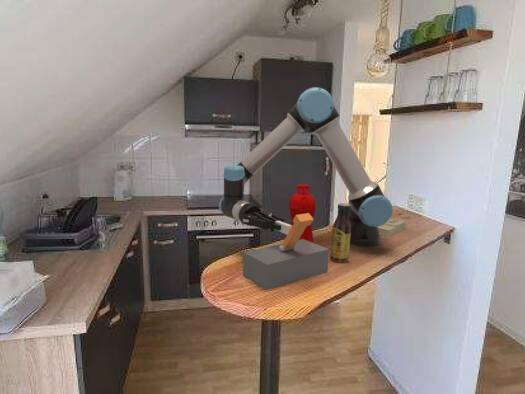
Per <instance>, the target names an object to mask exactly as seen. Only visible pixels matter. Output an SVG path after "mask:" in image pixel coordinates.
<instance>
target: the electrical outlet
mask: <svg viewBox="0 0 525 394" xmlns="http://www.w3.org/2000/svg"><path fill="white" fill-rule="evenodd" d="M406 222H407V221H405V220H401V219H397V218H390V219H389V220H388V222H386V223H385V224H383V225H381V226H378V230H379V235H380V234H381V235H380V236H384V235H385V237H390V236H392V235H395V234H398V233H399V232H401V231H403V230H405V229H406Z"/></svg>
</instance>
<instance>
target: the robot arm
mask: <svg viewBox="0 0 525 394" xmlns="http://www.w3.org/2000/svg"><path fill="white" fill-rule="evenodd" d="M340 117H341V115H340V114H339V112H338V110H337V109H336V107H335V104H334V100H333V96H332V95H331V94H330V92H329V91H327V89H324V88H322V87H319V86H318V87H314V86H313V87H310V88H307V89H305V91H303V92H302V93H301V94H300V95H299V97H298V100H297V101H296V103H295V104H294V106H293V107H292V108H291V110H289V111H288V112H287V115H286V118H285V119H284V120H282V121H281V122H280V124H278V125H277V126H276V127H275V128H273V130H272V131H270V133H269V134H268V135H267V136H266V137H265V138H264V139H263V140H262V141H261V142H260V143H259V144H257V145H256V146H255V147H254V148H253V150H251V151H250V152H249V153H248V154H247V155H246V156H245V157H244V158H242V160H241V161H240V162H239V163H238V164H236V165H234V164H232V165H226V166H224V169H223V175H222V176H223V197H222V198H220V200H219V203H218V209H219V211H220V213H221V214H223V215H224V216H226V217H228V218H231V219H233V220H235V221H238V222H239V223H241V224H242V225H245V226H249V227H255V228H259V229H263V230H267V231H268V230H270V231H269V232H274V231H277V232H280V233H282V234H284V235H286V236H287V235H288V233H289V231H290V229H291V228H292V225H291V224H289V223H286V222H285V219H284V218H283V217H281V216H280V215H278V214H276V212H271V213H270V214H269V213H267V212H265V211H262V209H261V208H260V206H258V205H257V204H254V203H251V202H248V201H245V200H244V198H245V197H244V196H245V184H246V183H247V182H248V181H249V180H250V179H251V178H252V177H254V176H255V174H256V173H258V172H259V171H260V169H262V168H263V167H264V166H265V165H266V164H267V163H268V162H270V161H271V159H273V158H274V157H275V156H276V155H277V154H278V153H279V152H280V151H281V150H282V149H283V148H284V147H286V146H287V145H288V144H289V143H290V142H291V141H292V140H293V139H294V138H295V137H296V136H298V134H300V133H301V132H305V131H306V130H308V132H309V134H311V135H315V136H316V137H317V138H318V140H319V142H320V143H321V145H322V147H323V149H324V150H325V152H326V153H325V154H327V157H329V159H330V161H331V162H332V165H333V166H334V168H335V170H336V172H337V174H338V175H339V177H340V179H341V180H342V182H343V184H344V185H345V187H346V189H347V191H348V197H347V199H348V204H350V210H349V220H350V222H351V237H350V244H352V245H357V246H376V245H379V244H380V242H381V235H380V234H379V230H378V226H381V225H383V224H385V223H386V222H388V220H389V219H392V218H391V217H392V216H393V215H392V214H393V213H394V212H393V209H394V207H393V204H392V203H391V200H390V199H389V198H388V197H386V196H385V194H384V192H383V191H382V189H381V187H380V185H379V184H378V182H376V181H372V179H371V178H370V177H369V175H368V172H366V169H365V168H364V165H363V164H362V162H361V161H360V159H359V157H358V155H357V153H356V152H355V150H354V148H353V146H352V145H351V143H350V141H349V140H348V137H347V136H346V134H345V132H344V130H343V129H342V127H341V125H340V122H339V121H340Z"/></svg>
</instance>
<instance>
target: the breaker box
mask: <svg viewBox="0 0 525 394" xmlns="http://www.w3.org/2000/svg"><path fill="white" fill-rule="evenodd" d="M281 245H282V243H279V244H278V243H277V244H274V245H269V246H264V247H261V248H260V247H259V248H256V249H251V250H245V251H243V252H242V254H243V256H242V276H243V277H245V278H247V279H248V280H250V281H251V282H252V283H254V284H255V285H257V286H258V287H260V288H261V289H263V290H264V291H269V290H273V289H276V288H279V287H283V286H286V285H288V284H289V285H290V284H292V283H295V282H298V281H302V280H305V279H309V278H312V277H315V276H317V275H322V274H326V273H328V269H329V256H330V255H329V254H330V252H329V251H330V249H329V248H327V247H324V246H322V245H320V244H316V243H315V242H314V243H312V242H309V241H307V240H304V239H301V240H298V242H297V243H296V245H295V249H291V250H287V251H283V252H280V251H279V246H281Z"/></svg>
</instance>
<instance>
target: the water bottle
mask: <svg viewBox="0 0 525 394" xmlns="http://www.w3.org/2000/svg"><path fill="white" fill-rule="evenodd" d="M316 207H317V205H316V199H315V198H314V196H313V194H311V193H310V185H309V184H305V183H304V184H302V183H301V184H297V185H296V192H295V193H294V194H292V195H291V196H290V198H289V203H288V208H289V214H290V220H291V221H290V222H291V223H290V225H292V226H293V224H294V222H293V219H294V217H295V216H296V215H300V214H306V213H309V214H310V215H311V216H312V218H313V219H314V216H315V213H316V209H317V208H316ZM312 225H313V222H312V223H311V225H309V226H307V227H306V228H305V230H304V232H303V233H302V235H301V237H300V238H299V240H301V239H304V240H307V241H309V242H312V243H314V244H315V240H314V234H313V228H312Z"/></svg>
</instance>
